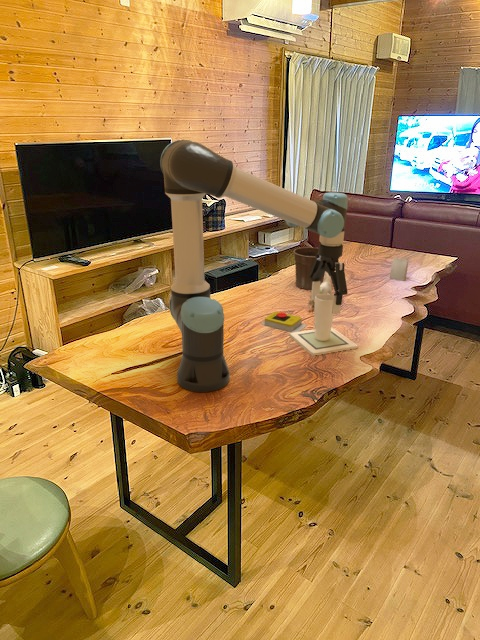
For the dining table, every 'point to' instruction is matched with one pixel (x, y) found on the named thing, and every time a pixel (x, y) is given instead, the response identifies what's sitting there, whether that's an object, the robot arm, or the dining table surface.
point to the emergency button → (284, 322)
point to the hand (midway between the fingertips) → (325, 306)
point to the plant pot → (305, 266)
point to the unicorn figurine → (323, 288)
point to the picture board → (322, 342)
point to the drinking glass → (323, 316)
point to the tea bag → (399, 269)
